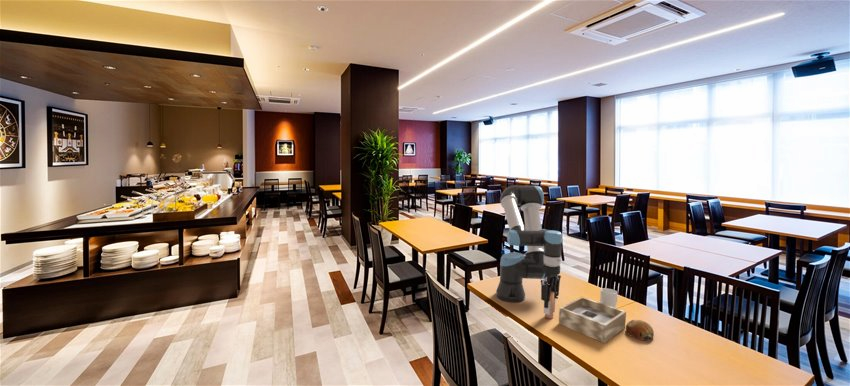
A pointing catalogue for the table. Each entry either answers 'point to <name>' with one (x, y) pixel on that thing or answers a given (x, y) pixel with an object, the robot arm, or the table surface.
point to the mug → (608, 297)
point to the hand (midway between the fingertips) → (549, 312)
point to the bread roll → (640, 330)
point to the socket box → (592, 318)
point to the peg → (551, 306)
